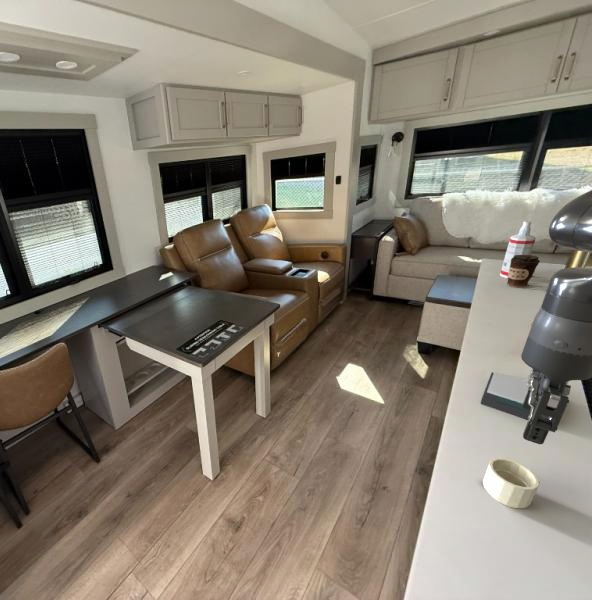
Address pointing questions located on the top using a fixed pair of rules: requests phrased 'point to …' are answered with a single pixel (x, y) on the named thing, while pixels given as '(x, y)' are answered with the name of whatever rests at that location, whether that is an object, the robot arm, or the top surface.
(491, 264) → the top surface
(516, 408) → the scale
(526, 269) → the coffee cup
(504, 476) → the bowl
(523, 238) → the spray bottle
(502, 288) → the top surface
